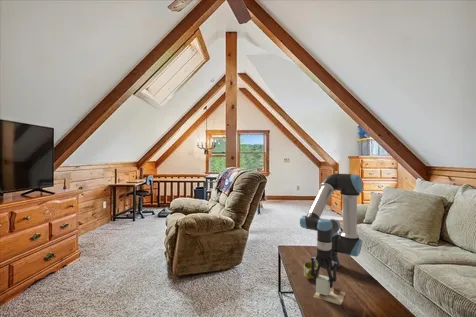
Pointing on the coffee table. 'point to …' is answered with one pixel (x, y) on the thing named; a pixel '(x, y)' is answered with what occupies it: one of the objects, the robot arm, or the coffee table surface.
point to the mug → (309, 270)
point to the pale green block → (322, 284)
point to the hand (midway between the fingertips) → (323, 291)
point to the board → (332, 296)
